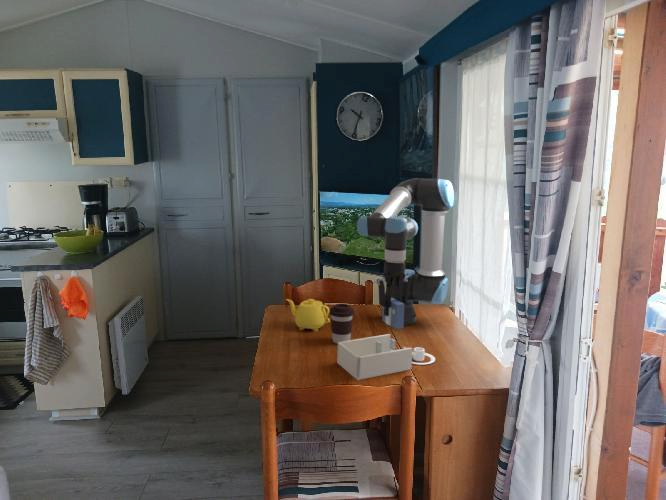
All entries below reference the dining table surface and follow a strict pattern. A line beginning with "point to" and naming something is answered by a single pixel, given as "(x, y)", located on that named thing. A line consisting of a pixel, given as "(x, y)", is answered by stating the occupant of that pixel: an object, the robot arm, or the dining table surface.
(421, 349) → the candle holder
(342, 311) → the coffee cup
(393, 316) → the blue flat block
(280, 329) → the dining table surface
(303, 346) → the dining table surface
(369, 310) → the dining table surface
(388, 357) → the box
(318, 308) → the teapot
